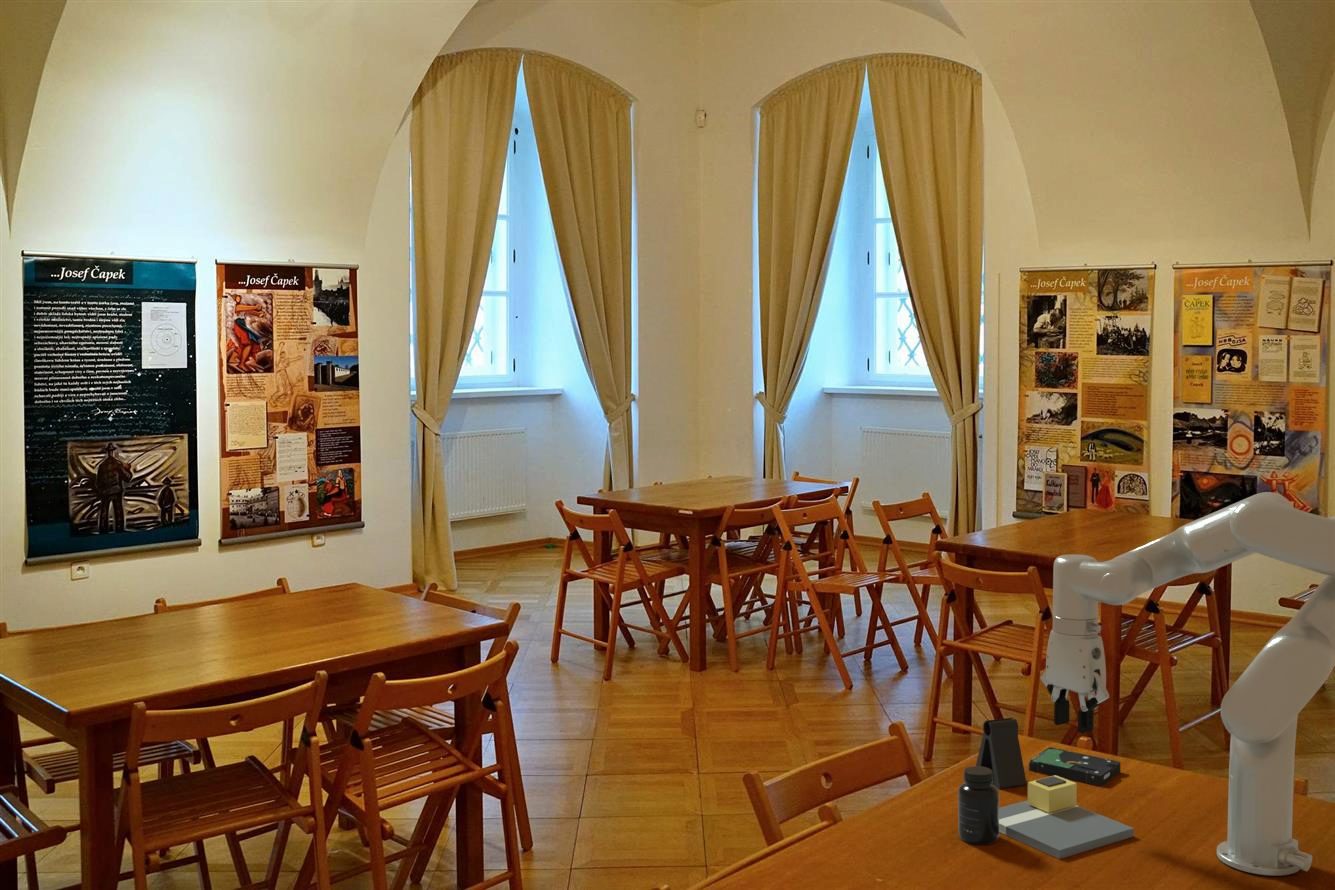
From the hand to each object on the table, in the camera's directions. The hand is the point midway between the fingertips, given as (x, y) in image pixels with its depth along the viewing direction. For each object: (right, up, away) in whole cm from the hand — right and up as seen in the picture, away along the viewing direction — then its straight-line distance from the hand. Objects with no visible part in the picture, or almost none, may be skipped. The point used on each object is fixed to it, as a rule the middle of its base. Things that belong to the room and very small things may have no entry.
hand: (1073, 726), depth 223 cm
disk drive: (+9, -16, +28) cm, 33 cm away
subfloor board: (-4, -18, -2) cm, 18 cm away
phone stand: (-7, -16, +23) cm, 29 cm away
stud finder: (-2, -15, +5) cm, 16 cm away
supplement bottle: (-18, -18, -5) cm, 26 cm away
